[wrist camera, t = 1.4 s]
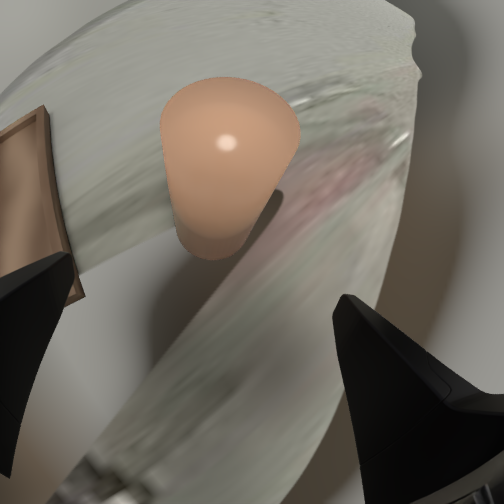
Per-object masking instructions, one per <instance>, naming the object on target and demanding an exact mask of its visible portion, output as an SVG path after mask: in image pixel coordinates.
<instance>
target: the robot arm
mask: <svg viewBox="0 0 504 504" xmlns="http://www.w3.org/2000/svg"><path fill="white" fill-rule="evenodd" d="M74 279H75V272H74V265H73V258H72V255H71V254H70V253H68V252H63V251H59V252H57V253H54V254H52V255H49V256H47V257H45V258H42V259H40V260H38V261H35V262H33V263H31V264H29V265H26V266H24V267H22V268H20V269H17V270H15V271H13V272H11V273H9V274H6V275H4V276H2V277H0V473H1V474H2V475H4V476H6V477H8V478H9V479H10V476H11V471H12V465H13V459H14V454H15V449H16V444H17V439H18V435H19V431H20V427H21V422H22V419H23V415H24V412H25V408H26V405H27V402H28V398H29V395H30V392H31V389H32V386H33V383H34V380H35V377H36V374H37V372H38V369H39V366H40V364H41V361H42V358H43V356H44V354H45V351H46V349H47V346H48V344H49V342H50V339H51V337H52V335H53V333H54V330H55V328H56V326H57V324H58V321H59V319H60V317H61V314H62V312H63V309H64V306H65V303H66V301H67V298H68V295H69V293H70V290H71V288H72V285H73V283H74ZM332 320H333V327H334V335H335V342H336V350H337V356H338V361H339V365H340V370H341V374H342V378H343V383H344V387H345V392H346V396H347V401H348V406H349V411H350V416H351V421H352V425H353V431H354V436H355V441H356V447H357V453H358V458H359V464H360V471H361V478H362V485H363V491H364V499H365V504H504V394H489V393H485V392H483V391H481V390H479V389H478V388H476V387H475V386H473V385H472V384H471V383H469V382H468V381H466V380H465V379H463V378H462V377H460V376H459V375H458V374H456V373H455V372H453V371H452V370H451V369H449V368H448V367H447V366H445V365H444V364H443V363H441V362H440V361H439V360H437V359H436V358H435V357H434V356H432V355H431V354H430V353H429V352H426V350H425V349H424V348H422V347H421V346H420V345H419V344H417V343H416V342H414V341H413V340H412V339H411V338H410V337H408V336H407V335H406V334H404V333H403V332H402V331H401V330H399V329H398V328H397V327H395V326H394V325H393V324H391V323H390V322H389V321H388V320H386V319H385V318H384V317H382V316H381V315H380V314H379V313H377V312H376V311H375V310H373V309H372V308H371V307H369V306H368V305H367V304H365V303H364V302H363V301H361V300H360V299H359V298H357V297H356V296H355V295H350V294H343V295H342V296H341V297H340V299H339V301H338V303H337V306H336V308H335V310H334V312H333V316H332Z"/></svg>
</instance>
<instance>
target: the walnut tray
mask: <svg viewBox="0 0 504 504" xmlns="http://www.w3.org/2000/svg"><path fill="white" fill-rule="evenodd" d="M59 251H63V252H68V253H70V254H71V255H72V252H71V249H70V245H69V241H68V237H67V233H66V229H65V225H64V221H63V216H62V212H61V207H60V202H59V197H58V191H57V185H56V179H55V172H54V165H53V157H52V147H51V136H50V120H49V114H48V112H47V110H46V108H45V106H44V105H42V106H40V107H38V108H37V109H35V110H33V111H31V112H30V113H28V114H26V115H25V116H23V117H22V118H20V119H18V120H17V121H15V122H14V123H12V124H11V125H9V126H8V127H6V128H5V129H3V130H2V131H0V277H2V276H4V275H6V274H9V273H11V272H13V271H15V270H17V269H20V268H22V267H24V266H26V265H29V264H31V263H33V262H35V261H38V260H40V259H42V258H45V257H47V256H49V255H52V254H54V253H57V252H59ZM72 258H73V256H72ZM73 265H74V272H75V279H74V283H73V285H72V288H71V290H70V293H69V295H68V298H67V301H66V303H65V306H64V307H66V306H68V305H70V304H72V303H74V302H76V301H78V300H80V299H82V298H84V297H85V293H84V290H83V288H82V284H81V282H80V279H79V275H78V272H77V269H76V266H75V263H74V259H73Z"/></svg>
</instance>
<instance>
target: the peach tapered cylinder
mask: <svg viewBox="0 0 504 504" xmlns="http://www.w3.org/2000/svg"><path fill="white" fill-rule="evenodd" d="M160 132H161V140H162V147H163V155H164V162H165V168H166V175H167V181H168V187H169V193H170V199H171V205H172V210H173V216H174V221H175V226H176V231H177V235H178V238H179V240H180V242H181V244H182V245H183V246H184V248H185V249H186V250H188V252H190V253H191V254H193V255H194V256H196V257H199V258H201V259H205V260H221V259H225V258H227V257H229V256H231V255H233V254H235V253H236V252H237V251H238V250H239V249H240V248H241V247H242V246H243V244H244V243H245V241H246V239H247V237H248V236H249V234H250V232H251V230H252V228H253V227H254V225H255V223H256V221H257V220H258V218H259V216H260V214H261V212H262V210H263V209H264V207H265V205H266V203H267V202H268V200H269V198H270V196H271V195H272V193H273V191H274V189H275V188H276V186H277V184H278V182H279V180H280V179H281V177H282V175H283V173H284V172H285V170H286V168H287V166H288V165H289V163H290V161H291V159H292V158H293V156H294V154H295V152H296V151H297V148H298V146H299V142H300V126H299V122H298V119H297V117H296V115H295V113H294V111H293V110H292V108H291V107H290V105H289V104H288V103H287V102H286V101H285V100H284V99H283V98H282V97H281V96H279V95H278V94H277V93H275V92H274V91H272V90H271V89H269V88H267V87H265V86H263V85H261V84H258V83H256V82H253V81H249V80H245V79H240V78H232V77H217V78H209V79H204V80H201V81H197V82H195V83H192V84H190V85H188V86H186V87H184V88H183V89H181V90H180V91H178V92H177V93H176V94H175V95H174V96H172V98H171V99H170V100H169V101H168V102H167V104H166V106H165V107H164V109H163V112H162V114H161V119H160Z"/></svg>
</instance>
